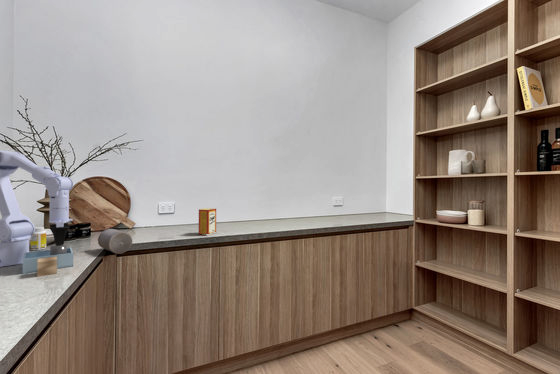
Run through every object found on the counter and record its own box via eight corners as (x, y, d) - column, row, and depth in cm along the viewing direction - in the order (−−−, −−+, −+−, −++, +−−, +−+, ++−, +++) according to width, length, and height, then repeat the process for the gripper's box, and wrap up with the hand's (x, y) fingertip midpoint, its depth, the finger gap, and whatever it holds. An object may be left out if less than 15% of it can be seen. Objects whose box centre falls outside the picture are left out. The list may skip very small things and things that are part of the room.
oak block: (37, 277, 90) (37, 262, 90) (37, 273, 94) (37, 258, 94) (56, 273, 93) (56, 259, 93) (56, 270, 97) (56, 256, 97)
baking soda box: (207, 232, 174) (207, 207, 174) (216, 233, 172) (216, 208, 172) (198, 235, 165) (198, 208, 165) (207, 235, 163) (208, 209, 163)
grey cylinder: (66, 264, 102) (66, 245, 102) (48, 266, 99) (49, 247, 99) (67, 260, 106) (67, 243, 106) (50, 262, 104) (51, 244, 104)
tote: (22, 273, 92) (22, 259, 92) (24, 265, 101) (24, 252, 101) (73, 266, 101) (73, 252, 101) (71, 259, 110) (71, 247, 110)
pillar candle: (114, 251, 130) (128, 256, 121) (93, 245, 123) (106, 251, 114) (123, 231, 134) (137, 235, 124) (103, 225, 127) (116, 229, 117)
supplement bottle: (46, 247, 130) (46, 226, 130) (46, 249, 126) (46, 227, 126) (30, 249, 126) (30, 227, 126) (30, 251, 122) (30, 229, 122)
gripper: (74, 209, 100) (73, 245, 100) (71, 206, 111) (71, 239, 111) (49, 210, 95) (48, 248, 96) (48, 207, 106) (48, 241, 107)
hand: (59, 243), depth 103 cm, fingers open, 7 cm apart
